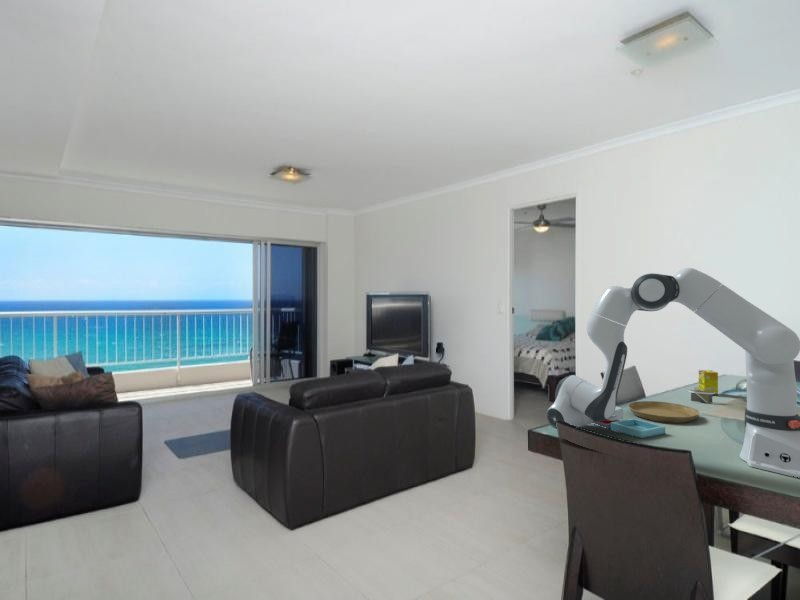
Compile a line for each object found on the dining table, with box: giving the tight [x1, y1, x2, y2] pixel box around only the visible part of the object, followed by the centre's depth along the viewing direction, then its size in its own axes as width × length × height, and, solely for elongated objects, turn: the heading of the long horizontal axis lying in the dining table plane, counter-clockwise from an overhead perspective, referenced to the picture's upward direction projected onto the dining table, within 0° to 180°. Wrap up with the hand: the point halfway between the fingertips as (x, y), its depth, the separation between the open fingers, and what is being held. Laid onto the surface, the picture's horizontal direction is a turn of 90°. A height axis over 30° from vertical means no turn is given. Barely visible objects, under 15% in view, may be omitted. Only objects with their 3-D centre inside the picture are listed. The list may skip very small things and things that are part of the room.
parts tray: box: [610, 418, 666, 439], centre depth 161 cm, size 12×12×2 cm
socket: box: [592, 419, 621, 428], centre depth 171 cm, size 9×9×2 cm
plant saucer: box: [627, 400, 700, 424], centre depth 183 cm, size 24×24×3 cm
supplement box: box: [698, 369, 719, 397], centre depth 222 cm, size 6×6×11 cm
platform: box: [688, 386, 715, 404], centre depth 206 cm, size 12×18×7 cm, turn 61°
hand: (604, 405), depth 170 cm, fingers open, 8 cm apart
